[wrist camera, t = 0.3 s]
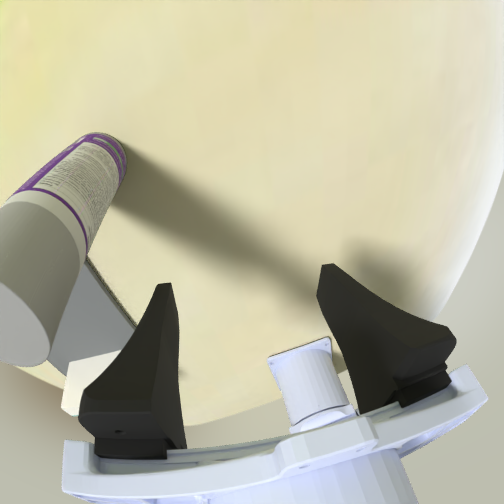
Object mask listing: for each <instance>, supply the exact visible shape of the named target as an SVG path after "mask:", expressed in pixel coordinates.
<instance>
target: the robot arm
mask: <svg viewBox="0 0 504 504" xmlns="http://www.w3.org/2000/svg"><path fill="white" fill-rule="evenodd" d="M316 296H317V299H318V302H319V305H320V308H321V311H322V313H323V316H324V318H325V320H326V322H327V324H328V326H329V328H330V330H331V332H332V333H333V335H334V337H335V339H336V341H337V343H338V345H339V347H340V350H341V352H342V354H343V357H344V360H345V363H346V366H347V369H348V371H349V375H350V378H351V381H352V385H353V388H354V392H355V396H356V400H357V404H358V409H356V410H354V408H353V405H352V404H350V403H349V401H348V398H347V396H346V394H345V391H344V389H343V387H342V384H341V382H340V380H339V377H338V375H337V373H336V370H335V368H334V366H333V363H332V352H331V342H330V339H329V338H328V337H326V338H323V339H321V340H318V341H315V342H312V343H310V344H307V345H304V346H301V347H298V348H295V349H292V350H290V351H287V352H284V353H281V354H277V355H274V356H271V357H269V358H267V363H268V365H269V367H270V369H271V371H272V374H273V376H274V378H275V380H276V383H277V385H278V387H279V389H280V391H281V392H282V396H283V399H284V402H285V406H286V409H287V412H288V416H289V419H290V422H291V426H292V427H290V428H289V430H290V434H289V435H285V436H280V437H275V438H270V439H264V440H259V441H253V442H246V443H240V444H232V445H225V446H216V447H207V448H195V449H187V444H186V439H185V433H184V426H183V419H182V411H181V403H180V394H179V383H178V358H179V319H178V311H177V307H176V303H175V298H174V294H173V289H172V285H171V283H162V284H158V285H157V286H156V288H155V291H154V293H153V296H152V298H151V300H150V302H149V305H148V307H147V309H146V311H145V313H144V315H143V317H142V319H141V320H140V322H139V324H138V326H137V327H136V329H135V331H134V333H133V334H132V336H131V337H130V339H129V340H128V342H127V343H126V345H125V346H124V348H123V349H122V350H121V351H120V353H119V354H118V355H117V357H116V358H115V359H114V360H113V361H112V363H111V364H110V365H109V366H108V367H107V368H106V369H105V370H104V371H103V372H102V373H101V374H100V375H99V376H98V377H97V378H96V379H95V380H94V381H93V382H92V383H91V384H89V385H88V386H87V387H86V388H85V389H84V390H83V393H82V397H81V400H80V407H79V415H78V420H79V422H80V423H81V425H82V426H83V427H85V429H86V430H87V431H88V432H90V433H91V434H92V435H93V436H94V437H95V444H93V443H90V442H86V441H75V440H65V441H64V453H63V468H62V491H63V492H65V493H67V494H70V495H72V496H75V497H77V498H80V499H82V500H85V501H88V502H90V503H97V504H419V503H418V501H417V498H416V496H415V493H414V491H413V488H412V486H411V484H410V481H409V479H408V476H407V474H406V472H405V469H404V467H403V465H402V463H401V460H400V459H401V458H402V457H404V456H406V455H408V454H410V453H412V452H414V451H416V450H418V449H419V448H421V447H423V446H425V445H427V444H428V443H430V442H432V441H433V440H435V439H437V438H438V437H440V436H442V435H443V434H445V433H447V432H448V431H450V430H452V429H453V428H455V427H456V426H458V425H460V424H461V423H463V422H464V421H465V420H467V418H469V417H470V416H471V415H472V414H473V413H474V412H475V411H476V410H478V409H479V408H480V407H481V406H482V405H483V404H484V403H485V402H486V401H487V400H488V397H487V395H486V393H485V392H484V390H483V388H482V387H481V385H480V384H479V382H478V381H477V379H476V377H475V376H474V374H473V373H472V371H471V370H470V368H469V367H468V365H467V364H465V365H463V366H461V367H459V368H457V369H455V370H453V371H451V372H450V373H449V374H447V372H446V369H447V365H446V363H445V361H446V359H447V358H448V357H449V355H450V354H451V352H452V351H453V349H454V348H455V345H456V338H455V336H454V335H453V334H452V332H451V331H450V330H449V328H448V327H447V326H443V325H440V324H436V323H433V322H430V321H427V320H424V319H421V318H419V317H416V316H414V315H411V314H409V313H407V312H405V311H403V310H401V309H399V308H397V307H395V306H393V305H392V304H390V303H388V302H386V301H385V300H383V299H381V298H380V297H378V296H377V295H375V294H374V293H372V292H371V291H369V290H368V289H367V288H365V287H364V286H363V285H361V284H360V283H358V282H357V281H356V280H355V279H353V278H352V277H351V276H349V275H348V274H347V273H346V272H344V271H343V270H342V269H340V268H339V267H338V266H336V265H335V264H333V263H332V264H324V265H322V268H321V273H320V279H319V284H318V290H317V295H316Z"/></svg>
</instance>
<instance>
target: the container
mask: <svg viewBox="0 0 504 504" xmlns="http://www.w3.org/2000/svg"><path fill="white" fill-rule="evenodd" d="M126 168H127V159H126V154H125V152H124V149H123V147H122V146H121V144H120V143H119V142H118V141H117V140H116V139H115V138H113V137H112V136H110V135H108V134H105V133H99V132H95V133H89V134H86V135H84V136H82V137H81V138H79V139H78V140H76V141H75V142H74V143H72V144H71V145H70V146H68V147H67V148H66V149H65V150H63V151H62V152H61V153H59V154H58V155H57V156H56V157H54V158H53V159H52V160H51V161H50V162H48V163H47V164H46V165H45V166H44V167H42V168H41V169H40V170H39V171H38V172H37V173H35V174H34V175H33V176H32V177H31V178H30V179H29V180H28V181H26V182H25V183H24V184H23V185H22V186H21V187H20V188H19V189H18V190H17V191H16V192H15V193H14V194H13V195H12V196H11V197H10V198H8V199H7V201H6V202H5V203H4V204H3V205H2V206H1V207H0V361H2V362H5V363H8V364H11V365H15V366H20V367H33V366H37V365H40V364H42V363H43V362H45V361H46V360H47V358H48V357H49V355H50V352H51V348H52V345H53V342H54V339H55V336H56V333H57V330H58V327H59V324H60V321H61V319H62V316H63V313H64V310H65V308H66V305H67V303H68V300H69V297H70V295H71V292H72V290H73V287H74V285H75V283H76V280H77V278H78V275H79V273H80V271H81V269H82V266H83V264H84V262H85V259H86V257H87V254H88V252H89V250H90V247H91V245H92V243H93V240H94V238H95V236H96V233H97V231H98V229H99V227H100V225H101V222H102V220H103V218H104V216H105V214H106V212H107V210H108V208H109V205H110V203H111V201H112V199H113V197H114V195H115V193H116V191H117V189H118V188H119V186H120V184H121V182H122V180H123V178H124V175H125V173H126Z"/></svg>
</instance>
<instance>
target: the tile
mask: <svg viewBox="0 0 504 504" xmlns="http://www.w3.org/2000/svg"><path fill="white" fill-rule="evenodd" d="M120 351H121V350H119V351H115V352H111V353H107V354H103V355H99V356H94V357H90V358H86V359H81V360H77V361H72V362H69V367H68V371H67V377H66V382H65V387H64V393H63V399H62V405H61V409H63V410H64V411H65V412H67V413H69V414H70V415H72V416H78V415H79V407H80V400H81V397H82V393H83V390H84V389H85V388H86V387H87V386H88V385H89V384H91V383H92V382H93V381H94V380H95V379H96V378H97V377H98V376H99V375H100V374H101V373H102V372H103V371H104V370H105V369H106V368H107V367H108V366H109V365H110V364H111V363H112V361H113V360H114V359H115V358H116V357H117V355H118V354H119V353H120Z"/></svg>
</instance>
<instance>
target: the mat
mask: <svg viewBox="0 0 504 504" xmlns="http://www.w3.org/2000/svg"><path fill="white" fill-rule="evenodd" d="M135 329H136V327H135V326H134V325H133V323H132V322H131V321H130V320H129V318H128V317H127V316H126V314H125V313H124V312H123V311H122V309H121V308H120V307H119V305H118V304H117V303H116V301H115V300H114V299H113V297H112V296H111V295H110V293H109V292H108V290H107V289H106V288H105V286H104V285H103V283H102V282H101V281H100V279H99V278H98V276H97V275H96V273H95V272H94V271H93V269H92V268H91V266H90V265H89V263H88V262H87V260H86V259H85V262H84V264H83V266H82V269H81V271H80V273H79V275H78V278H77V280H76V283H75V285H74V287H73V290H72V292H71V295H70V297H69V300H68V303H67V305H66V308H65V310H64V313H63V316H62V319H61V321H60V324H59V327H58V330H57V333H56V336H55V339H54V342H53V345H52V348H51V352H50V355H49V357H48V358H47V360H48V361H49V362H50V363H51V364H52V365H53V366H54V367H56V368H57V369H58V370H59V371H60V372H61V373H62V374H64V375H65V376H66V377H67V371H68V367H69V362H72V361H77V360H81V359H86V358H90V357H94V356H99V355H103V354H107V353H111V352H115V351H119V350H122V349H123V348H124V346H125V345H126V343H127V342H128V340H129V339H130V337H131V336H132V334H133V333H134V331H135Z"/></svg>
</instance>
